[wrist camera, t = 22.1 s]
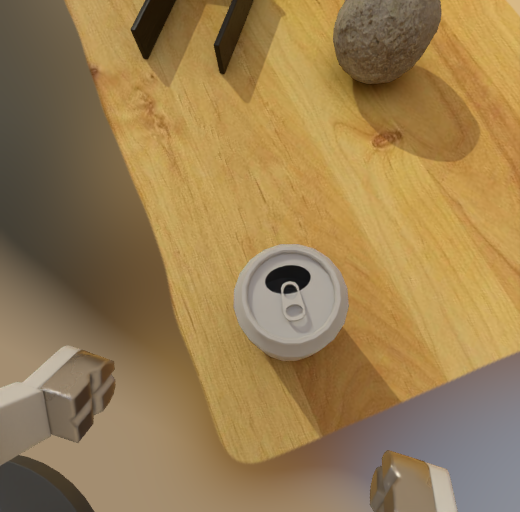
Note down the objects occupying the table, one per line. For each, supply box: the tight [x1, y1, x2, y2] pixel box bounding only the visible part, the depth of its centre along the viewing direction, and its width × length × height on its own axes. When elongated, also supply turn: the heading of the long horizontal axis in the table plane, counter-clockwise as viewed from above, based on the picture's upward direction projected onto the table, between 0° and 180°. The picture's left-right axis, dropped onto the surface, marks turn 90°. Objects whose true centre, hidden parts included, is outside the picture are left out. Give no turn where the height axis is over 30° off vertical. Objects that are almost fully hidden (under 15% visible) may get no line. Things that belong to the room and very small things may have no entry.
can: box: [234, 244, 349, 361], centre depth 28 cm, size 8×8×12 cm
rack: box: [131, 0, 253, 74], centre depth 44 cm, size 15×11×4 cm
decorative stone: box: [333, 0, 441, 84], centre depth 37 cm, size 10×8×10 cm
